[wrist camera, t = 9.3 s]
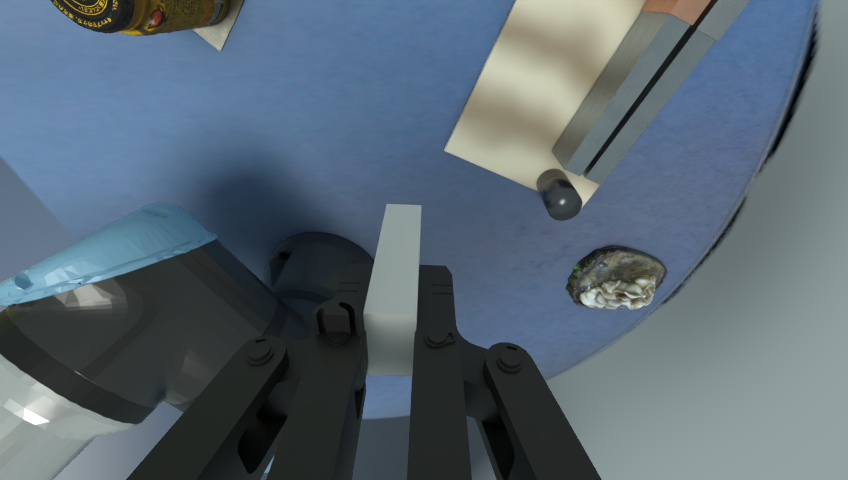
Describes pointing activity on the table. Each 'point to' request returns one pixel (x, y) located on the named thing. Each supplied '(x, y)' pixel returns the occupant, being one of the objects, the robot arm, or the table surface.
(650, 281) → the log
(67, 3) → the condiment
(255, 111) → the table surface
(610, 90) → the tong arm
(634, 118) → the tongs fixed
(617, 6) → the board
